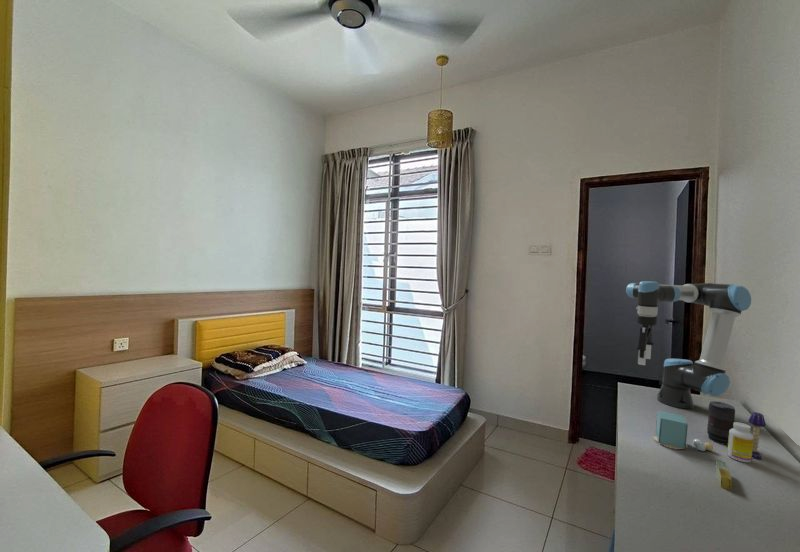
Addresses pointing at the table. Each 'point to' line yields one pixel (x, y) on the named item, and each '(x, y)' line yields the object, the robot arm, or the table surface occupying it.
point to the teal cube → (671, 429)
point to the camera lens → (720, 421)
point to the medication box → (723, 475)
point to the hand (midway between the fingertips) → (644, 361)
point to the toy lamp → (756, 432)
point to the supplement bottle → (740, 442)
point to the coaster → (667, 445)
